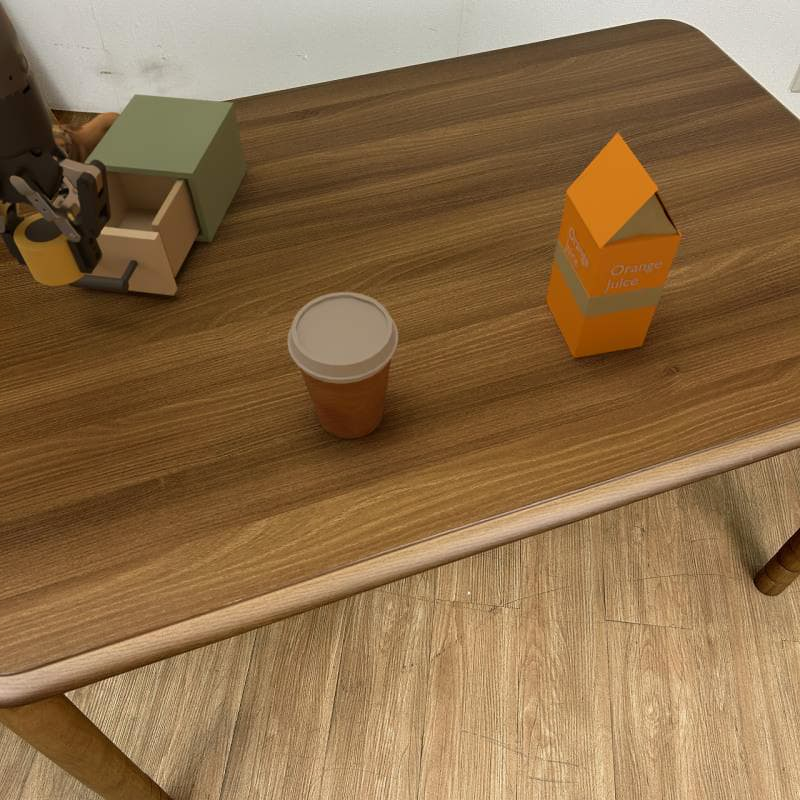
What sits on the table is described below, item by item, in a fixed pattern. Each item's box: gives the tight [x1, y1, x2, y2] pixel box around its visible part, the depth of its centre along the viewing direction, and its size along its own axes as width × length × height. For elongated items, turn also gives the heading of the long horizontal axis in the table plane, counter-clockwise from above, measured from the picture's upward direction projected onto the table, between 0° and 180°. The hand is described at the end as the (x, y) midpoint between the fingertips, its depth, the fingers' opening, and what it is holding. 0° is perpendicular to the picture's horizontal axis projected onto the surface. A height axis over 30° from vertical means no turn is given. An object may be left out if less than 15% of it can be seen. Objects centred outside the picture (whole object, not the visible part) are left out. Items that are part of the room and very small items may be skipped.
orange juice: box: [545, 132, 683, 359], centre depth 72 cm, size 8×9×20 cm
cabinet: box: [84, 93, 248, 243], centre depth 90 cm, size 15×13×10 cm
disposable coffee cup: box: [286, 291, 399, 440], centre depth 68 cm, size 10×10×12 cm
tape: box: [14, 212, 86, 287], centre depth 63 cm, size 5×5×4 cm
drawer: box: [67, 171, 201, 296], centre depth 82 cm, size 18×11×8 cm, turn 170°
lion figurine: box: [52, 111, 121, 164], centre depth 94 cm, size 15×5×9 cm, turn 149°
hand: (61, 262), depth 64 cm, fingers closed on tape, 5 cm apart
